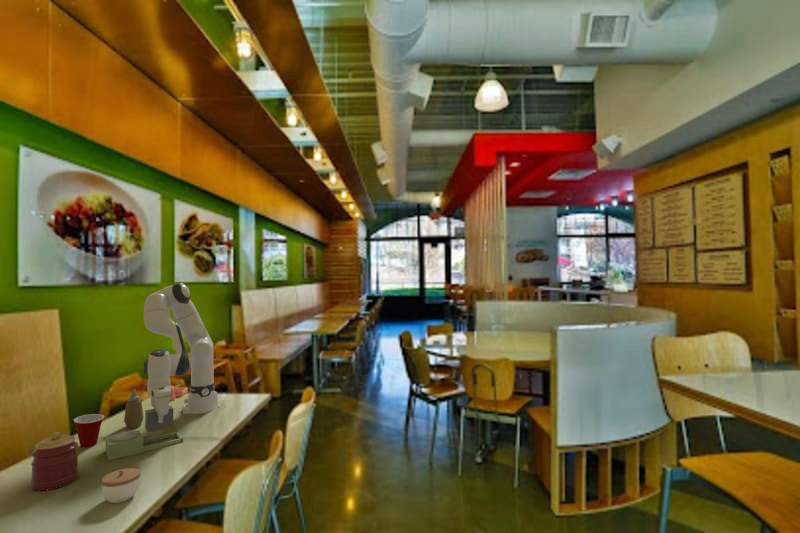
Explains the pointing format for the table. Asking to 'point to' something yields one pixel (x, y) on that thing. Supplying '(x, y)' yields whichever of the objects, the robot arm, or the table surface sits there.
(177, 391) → the pottery
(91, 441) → the plastic cup
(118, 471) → the lidded jar
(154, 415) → the tall grey box
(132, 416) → the squeeze bottle
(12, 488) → the table surface
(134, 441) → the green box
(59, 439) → the canister
